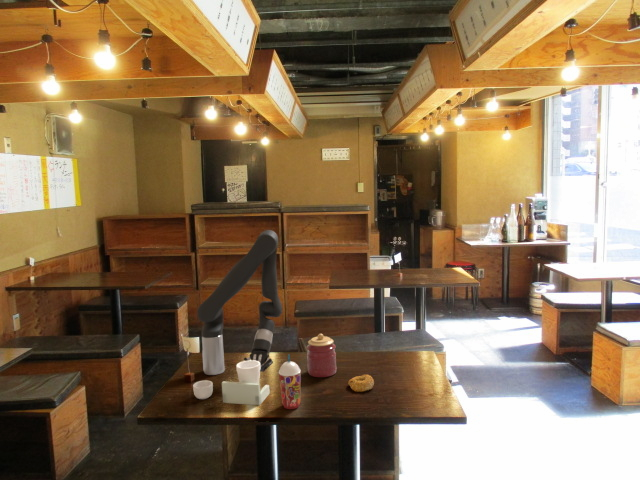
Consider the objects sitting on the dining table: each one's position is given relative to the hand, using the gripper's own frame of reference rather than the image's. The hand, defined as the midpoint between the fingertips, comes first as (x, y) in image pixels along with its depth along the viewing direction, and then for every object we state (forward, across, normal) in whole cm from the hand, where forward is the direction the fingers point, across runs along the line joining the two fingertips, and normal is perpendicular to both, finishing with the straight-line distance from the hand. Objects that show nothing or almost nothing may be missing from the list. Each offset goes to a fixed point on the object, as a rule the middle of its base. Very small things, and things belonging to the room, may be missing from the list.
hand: (253, 380), depth 200 cm
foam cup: (+7, 0, 0) cm, 7 cm away
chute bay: (+8, 0, -2) cm, 9 cm away
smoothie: (+12, +20, -5) cm, 23 cm away
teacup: (+9, -19, -2) cm, 21 cm away
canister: (-13, +23, +20) cm, 33 cm away
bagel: (-3, +43, +10) cm, 44 cm away
